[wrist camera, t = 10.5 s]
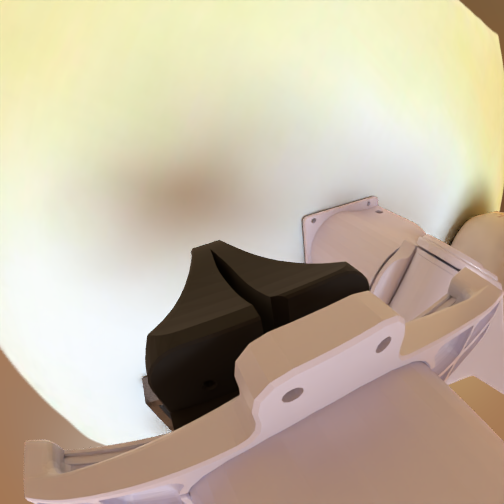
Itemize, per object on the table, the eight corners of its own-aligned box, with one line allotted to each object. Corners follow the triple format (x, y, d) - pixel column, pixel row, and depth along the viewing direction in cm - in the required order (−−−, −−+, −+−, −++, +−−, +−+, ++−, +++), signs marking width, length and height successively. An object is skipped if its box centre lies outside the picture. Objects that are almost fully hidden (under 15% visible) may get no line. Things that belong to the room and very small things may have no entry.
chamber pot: (431, 207, 32) (550, 272, 15) (491, 179, 39) (567, 215, 21) (404, 340, 46) (471, 404, 29) (469, 285, 53) (525, 326, 35)
